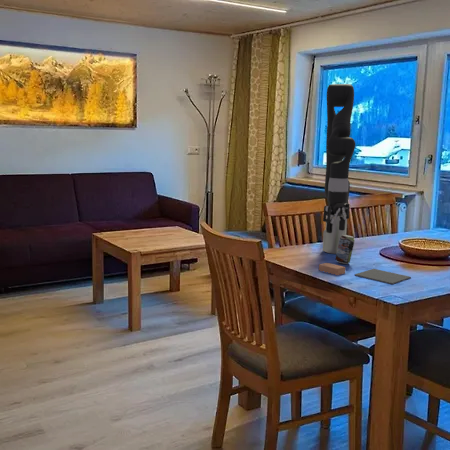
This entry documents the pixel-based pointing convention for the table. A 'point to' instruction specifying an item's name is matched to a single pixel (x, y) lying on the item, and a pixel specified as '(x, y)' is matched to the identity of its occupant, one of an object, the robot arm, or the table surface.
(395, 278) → the mat
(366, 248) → the table surface
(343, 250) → the beverage can
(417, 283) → the table surface
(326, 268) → the tan rectangular block
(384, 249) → the table surface
